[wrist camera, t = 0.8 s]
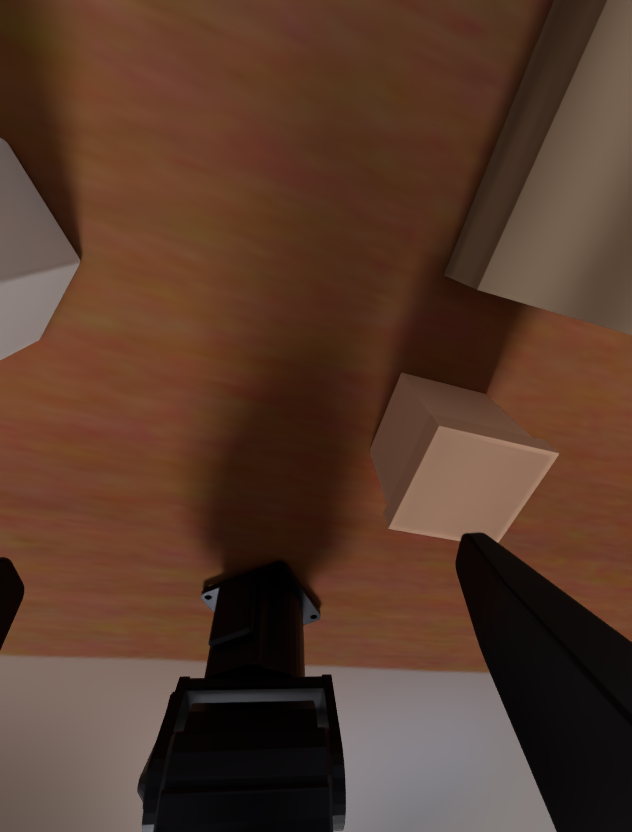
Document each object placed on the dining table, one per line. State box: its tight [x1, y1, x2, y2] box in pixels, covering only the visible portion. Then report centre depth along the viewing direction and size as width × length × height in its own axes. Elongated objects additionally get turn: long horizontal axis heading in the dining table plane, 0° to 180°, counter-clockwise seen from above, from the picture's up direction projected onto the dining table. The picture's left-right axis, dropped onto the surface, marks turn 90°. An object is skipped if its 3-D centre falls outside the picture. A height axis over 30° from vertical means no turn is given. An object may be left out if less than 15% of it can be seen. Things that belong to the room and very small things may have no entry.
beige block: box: [444, 0, 632, 335], centre depth 15 cm, size 10×10×4 cm
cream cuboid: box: [369, 373, 560, 543], centre depth 19 cm, size 5×5×6 cm
